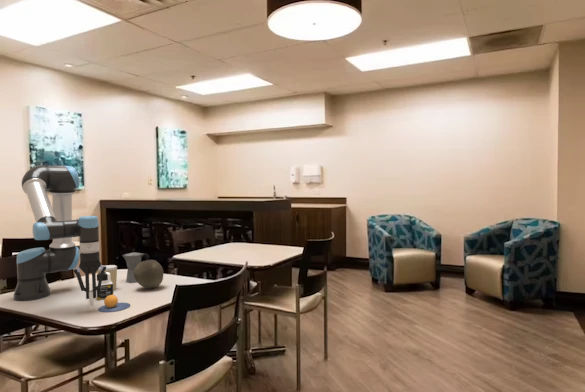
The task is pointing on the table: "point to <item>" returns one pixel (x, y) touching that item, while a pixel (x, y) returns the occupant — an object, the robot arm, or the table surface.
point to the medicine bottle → (104, 286)
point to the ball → (110, 301)
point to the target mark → (117, 308)
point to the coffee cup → (111, 273)
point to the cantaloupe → (149, 274)
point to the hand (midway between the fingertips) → (91, 305)
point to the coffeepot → (133, 264)
